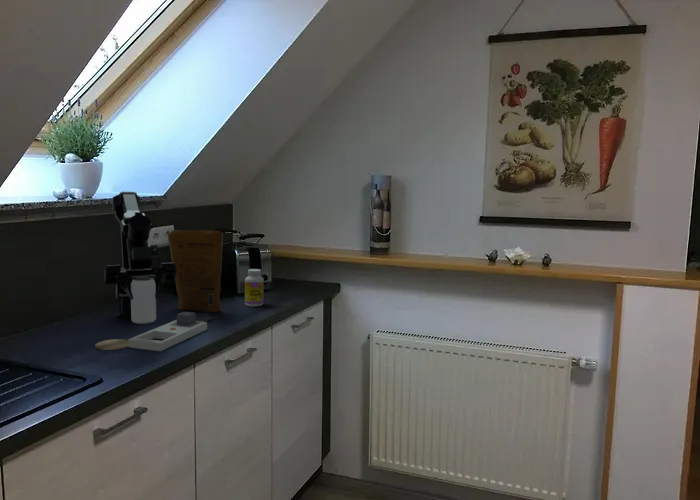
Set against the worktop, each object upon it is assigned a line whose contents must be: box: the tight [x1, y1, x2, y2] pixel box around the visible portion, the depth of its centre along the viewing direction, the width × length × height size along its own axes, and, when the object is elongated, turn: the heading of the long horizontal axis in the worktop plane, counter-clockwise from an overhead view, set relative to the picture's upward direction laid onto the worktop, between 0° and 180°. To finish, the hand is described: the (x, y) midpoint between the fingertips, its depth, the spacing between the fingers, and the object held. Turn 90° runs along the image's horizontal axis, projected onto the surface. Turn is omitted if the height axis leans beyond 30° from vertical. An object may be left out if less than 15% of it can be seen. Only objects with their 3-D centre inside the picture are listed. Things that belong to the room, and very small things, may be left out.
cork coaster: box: [94, 338, 129, 351], centre depth 165 cm, size 9×9×1 cm
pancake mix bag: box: [167, 229, 224, 313], centre depth 205 cm, size 7×19×28 cm, turn 77°
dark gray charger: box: [176, 311, 197, 325], centre depth 181 cm, size 4×4×3 cm
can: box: [130, 276, 157, 325], centre depth 165 cm, size 6×6×12 cm
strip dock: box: [127, 319, 208, 352], centre depth 173 cm, size 10×24×2 cm, turn 163°
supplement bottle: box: [244, 268, 265, 308], centre depth 217 cm, size 7×7×13 cm
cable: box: [202, 316, 213, 323], centre depth 191 cm, size 10×1×1 cm, turn 168°
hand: (144, 298), depth 164 cm, fingers closed on can, 6 cm apart
